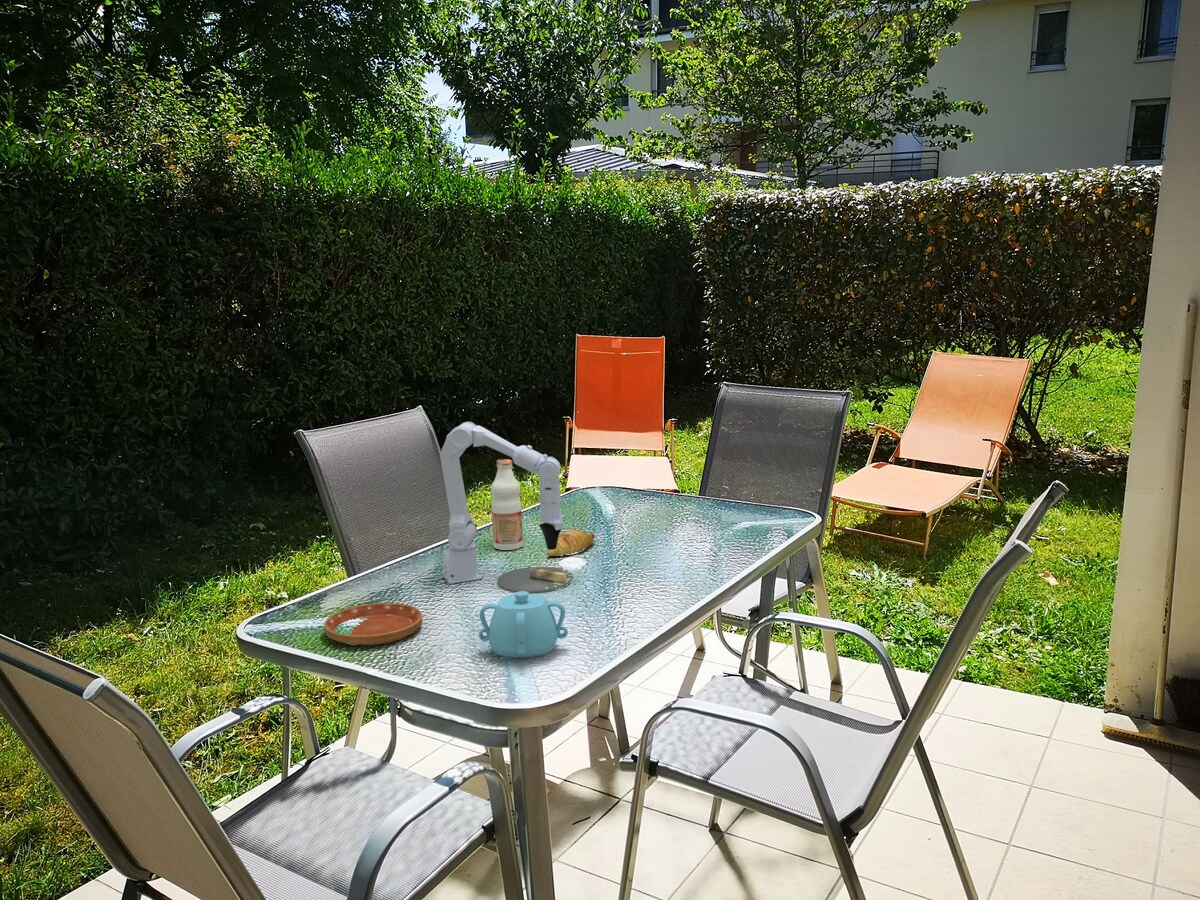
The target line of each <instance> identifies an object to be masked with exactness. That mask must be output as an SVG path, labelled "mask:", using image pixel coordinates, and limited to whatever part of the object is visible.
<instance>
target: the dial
mask: <svg viewBox="0 0 1200 900" xmlns="http://www.w3.org/2000/svg"><path fill="white" fill-rule="evenodd" d="M532 567H533V566H532ZM532 567H531V566H530V567H528V566H527V567H521V568H517V569H512V570H509V571H507V572H504V573H502V574H500V575H499V576H498V577H497V581H496V583H497V586H498V587H499V588H500V589H502V590H504V591H507V592H512V593H516V592H519V591H526V592H528V593H529V594H541V593H543V592H544V593H549V592H548V591H550V592H553V591H552V590H555V589H559V588H562V587H564V586H566V585H567V584H569V583H570V582H571V581H572V579H573V580H574V575H573V574H572V573H571V572H570V571H568V570H566V569H564V568H559V567H558V568H557V567H550V566H538V567H539V568H540V569H543V570H549V571H555V572H561V573H566V579H567V581H566V582H564V583H562V582H556V581H550V580H544V579H539V578H530V568H532ZM572 582H573V581H572ZM566 587H567V586H566ZM564 588H565V587H564ZM562 589H563V588H562ZM559 590H560V589H559ZM555 591H556V590H555ZM544 593H543V594H544Z"/></svg>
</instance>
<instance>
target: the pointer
mask: <svg viewBox="0 0 1200 900" xmlns="http://www.w3.org/2000/svg"><path fill="white" fill-rule="evenodd" d="M539 567H540V566H532V568H530V578H539V579H544V580H550V581H556V582H562V583H564V582H566V581H567V579H566V573H561V572H555V571H549V570H543V569H540V568H539Z"/></svg>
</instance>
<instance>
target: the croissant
mask: <svg viewBox="0 0 1200 900" xmlns="http://www.w3.org/2000/svg"><path fill="white" fill-rule="evenodd" d="M594 539H595V534H593V533H587V532H583V531H582V530H580V529H574V528H573V529H568V530H565V531H562V533H560V534H559V537H558V541H557V546H556V549H553V550H548V549H547V551H546V555H547V556H548V557H549V556H560V557H562V556H561V555H566V554H571V553H575V552H580V551H582V550H583V549H585V548H587V547H588V546H589V545H590V544H591V543H592V542H593V543H594ZM591 545H592V544H591ZM591 545H590V546H591ZM590 546H589V547H590ZM589 547H588V548H589ZM588 548H587V549H588Z"/></svg>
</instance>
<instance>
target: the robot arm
mask: <svg viewBox="0 0 1200 900" xmlns="http://www.w3.org/2000/svg"><path fill="white" fill-rule="evenodd" d="M472 445H473V448H476V447H484V446H486V447H488V448H491V449H493V450H495V451H498V452H500V453H502V454H503V455H506V456H508V457H510V458H511V459H512V462H513V463H514V464H515V465H516V466H519V468H520V467H521V469H524V470H525V471H526V470H527V471H528V472H530V473H533V474H537V477H538V479H539V487H538V488H539V491H538V492H539V513H538V514H539V515H538V516H539V517H538V518H539V521H540V522H543V523H540V524H539V528H540V530H541V532H542V535H543V538H544V541H545V545H546V549H547V550H553V549H556V546H557V541H558V537H559V535H560V534H561V531H562V530H563V529H564V523H563V521H562V520H563V519H566V516H565V515H564V514H562V512H561V508H562V506H561V485H560V476H559V474H560V472H561V464H560V462H559V460H557V458H555V457H554V456H548V454H546V453H544V454H542V453H540V452H539V451H536V450H534V449H533V446H532V445H529V444H528V445H526V444H525V445H524V444H523V445H520V446H517V445H515V444H513V443H511V442H509V441H508V440H506V439H504V438H502V437H501V436H499V435H497V434H495V433H493V432H492V431H490V430H489V429H487V428H485V427H483V426H482V425H477V424H475V423H474V422H472V421H465V422H462V423H461V424H460V425H458V426H455V427H454V428H453V429H452V430H451V431H450V432H449V433H448V434H447V435H446V437H445V441H444V444H443V446H442V448H441V450H440V453H439V458H440V465H441V469H442V475H443V481H444V487H445V493H446V498H447V503H448V509H449V515H450V518H449V523H448V528H449V533H448V536H447V540H448V545H449V548H448V549H443V551H442V570H443V571H442V573H443V574H442V577H443V576H444V577H443V579H445V581H446V582H447V583H448V584H455V583H456V584H457V583H464V582H471V581H476V580H482V579H483V577H482V576H481V574H480V573H479V572H478V557H477V556H478V553H477V552H478V551H477V543H476V542H475V539H476V537H477V535H478V527H477V526H476V524H475V523H474V521H473V518H472V514H471V513H470V512H469V508H468V503H467V497H466V492H465V486H464V485H465V484H464V480H463V474H462V466H461V463H460V457H461V456H462V454H464V452H465V451H466V449H467V448H469V447H470V446H472Z"/></svg>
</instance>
